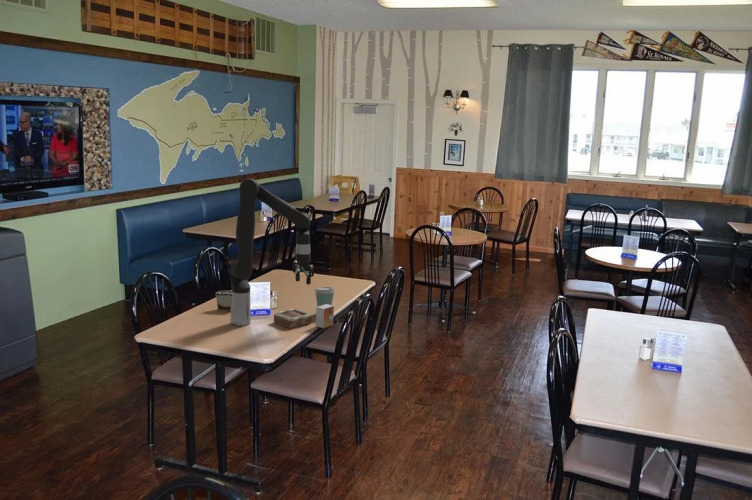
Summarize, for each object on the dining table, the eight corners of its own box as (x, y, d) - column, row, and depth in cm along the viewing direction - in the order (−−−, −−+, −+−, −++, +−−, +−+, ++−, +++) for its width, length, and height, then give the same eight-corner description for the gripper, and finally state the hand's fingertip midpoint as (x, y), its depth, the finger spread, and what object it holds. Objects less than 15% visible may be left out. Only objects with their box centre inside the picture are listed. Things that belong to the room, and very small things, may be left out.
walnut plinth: (290, 328, 329) (290, 319, 328) (273, 322, 338) (273, 313, 337) (311, 323, 338) (311, 314, 337) (295, 317, 348) (295, 308, 347)
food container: (240, 308, 361) (240, 290, 359) (237, 311, 355) (236, 293, 353) (219, 306, 362) (218, 289, 360) (215, 310, 356) (215, 292, 354)
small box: (323, 328, 331) (323, 309, 329) (315, 326, 334) (315, 306, 332) (333, 325, 337) (334, 305, 335) (325, 322, 340) (326, 303, 338)
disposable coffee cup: (310, 314, 353) (311, 288, 350) (321, 309, 363) (321, 284, 360) (327, 317, 349) (327, 291, 346) (337, 312, 358) (338, 286, 355)
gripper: (288, 251, 334) (288, 281, 337) (306, 255, 324) (306, 286, 328) (299, 249, 339) (299, 279, 343) (317, 253, 330) (317, 284, 333)
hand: (303, 282), depth 335 cm, fingers open, 8 cm apart
